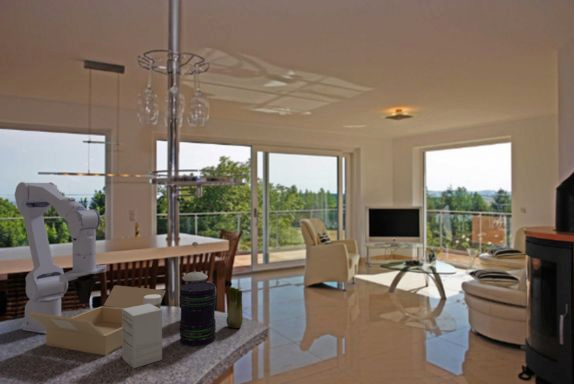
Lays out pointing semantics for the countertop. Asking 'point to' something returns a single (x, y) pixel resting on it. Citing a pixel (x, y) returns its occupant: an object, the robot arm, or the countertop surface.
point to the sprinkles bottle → (152, 300)
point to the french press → (195, 275)
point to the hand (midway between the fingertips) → (84, 303)
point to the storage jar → (197, 314)
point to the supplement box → (141, 335)
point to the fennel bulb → (235, 308)
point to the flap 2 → (129, 296)
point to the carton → (105, 321)
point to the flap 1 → (66, 324)
